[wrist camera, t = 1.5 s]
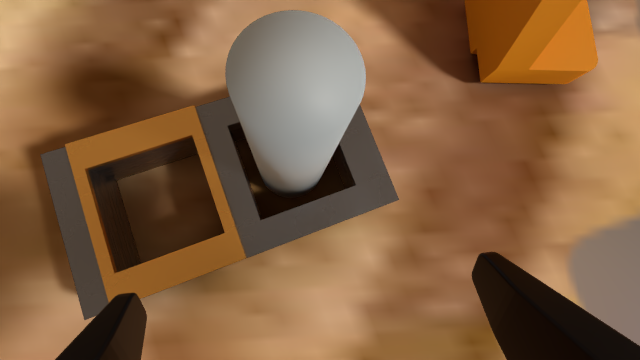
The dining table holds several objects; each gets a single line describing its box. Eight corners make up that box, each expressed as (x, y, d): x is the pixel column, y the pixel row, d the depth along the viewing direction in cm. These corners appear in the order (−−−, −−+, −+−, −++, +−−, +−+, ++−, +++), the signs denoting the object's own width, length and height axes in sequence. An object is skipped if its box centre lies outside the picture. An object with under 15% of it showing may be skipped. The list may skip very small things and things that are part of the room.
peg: (330, 185, 22) (386, 114, 10) (271, 207, 21) (252, 159, 9) (309, 129, 23) (336, -5, 10) (251, 148, 22) (206, 31, 10)
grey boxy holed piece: (384, 205, 22) (400, 198, 19) (115, 308, 19) (80, 321, 16) (335, 84, 23) (343, 59, 20) (75, 166, 21) (36, 153, 17)
